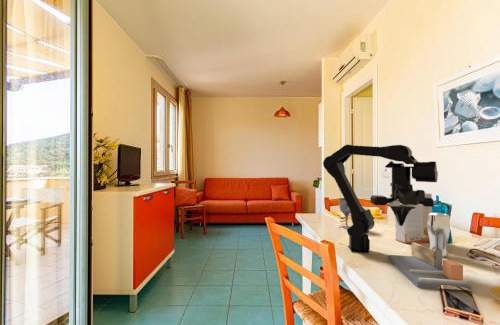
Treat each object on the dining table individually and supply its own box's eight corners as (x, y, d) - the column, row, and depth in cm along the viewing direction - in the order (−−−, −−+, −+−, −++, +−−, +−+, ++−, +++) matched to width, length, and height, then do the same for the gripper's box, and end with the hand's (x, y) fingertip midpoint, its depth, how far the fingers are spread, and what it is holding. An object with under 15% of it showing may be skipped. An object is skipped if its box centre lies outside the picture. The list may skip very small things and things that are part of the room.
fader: (450, 280, 70) (450, 264, 70) (442, 274, 74) (442, 259, 74) (462, 280, 70) (463, 265, 70) (454, 274, 74) (454, 260, 74)
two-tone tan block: (437, 266, 80) (437, 251, 80) (434, 266, 80) (434, 251, 80) (414, 255, 89) (414, 242, 89) (411, 255, 89) (411, 242, 89)
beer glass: (453, 259, 91) (453, 216, 91) (430, 256, 93) (430, 215, 93) (445, 252, 97) (445, 213, 97) (423, 250, 100) (424, 211, 99)
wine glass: (357, 229, 131) (357, 200, 131) (341, 229, 131) (341, 200, 131) (351, 225, 138) (351, 198, 139) (336, 225, 139) (336, 198, 139)
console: (417, 287, 70) (417, 261, 70) (388, 259, 90) (388, 239, 90) (471, 291, 68) (471, 264, 68) (428, 261, 88) (428, 241, 88)
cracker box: (420, 238, 117) (420, 192, 117) (432, 242, 111) (432, 193, 111) (394, 239, 114) (394, 192, 114) (405, 244, 108) (405, 194, 108)
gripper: (380, 182, 83) (380, 230, 83) (444, 183, 80) (443, 232, 80) (370, 179, 94) (369, 222, 94) (425, 180, 91) (425, 224, 91)
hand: (400, 225), depth 90 cm, fingers closed
